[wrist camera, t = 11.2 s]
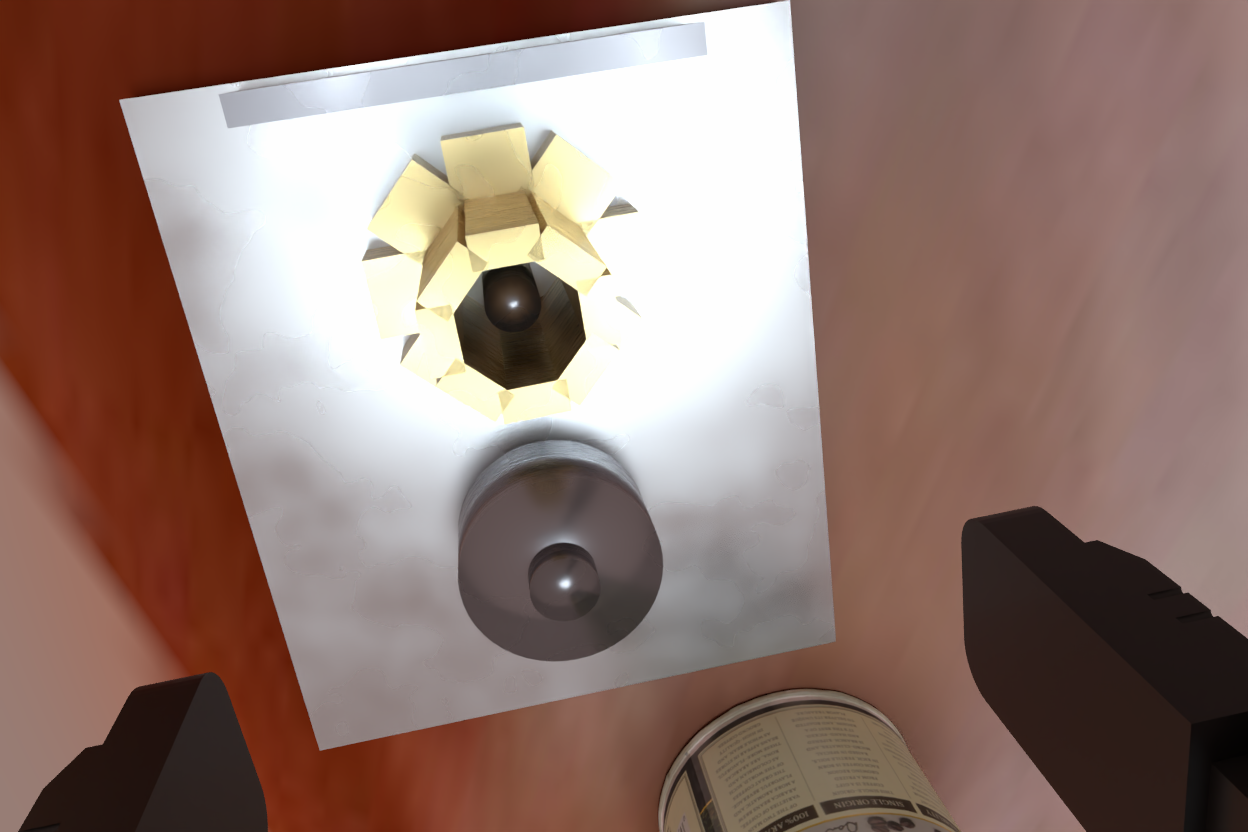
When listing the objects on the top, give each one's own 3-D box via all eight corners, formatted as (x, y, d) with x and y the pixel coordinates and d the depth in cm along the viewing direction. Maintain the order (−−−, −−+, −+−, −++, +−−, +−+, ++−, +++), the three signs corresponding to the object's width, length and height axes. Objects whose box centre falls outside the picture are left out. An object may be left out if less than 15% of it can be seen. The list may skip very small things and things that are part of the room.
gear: (616, 106, 28) (663, 124, 21) (654, 363, 31) (705, 448, 24) (342, 152, 27) (305, 185, 21) (405, 410, 30) (390, 511, 23)
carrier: (777, 1, 29) (848, -9, 23) (824, 623, 36) (886, 721, 31) (133, 97, 27) (53, 109, 22) (324, 728, 35) (299, 850, 29)
